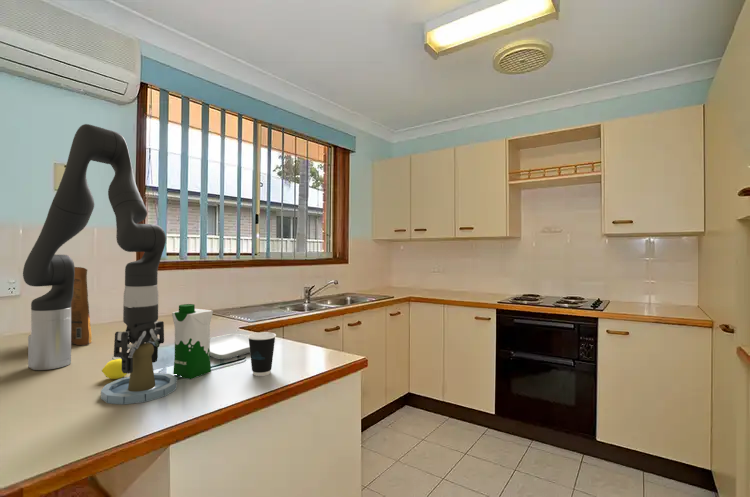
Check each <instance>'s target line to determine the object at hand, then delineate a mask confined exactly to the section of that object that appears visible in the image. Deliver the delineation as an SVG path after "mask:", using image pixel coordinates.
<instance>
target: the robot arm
mask: <svg viewBox="0 0 750 497" xmlns="http://www.w3.org/2000/svg"><path fill="white" fill-rule="evenodd" d="M70 146H71V147H70V150H69V154H68V158H67V162H66V165H65V169H64V172H63V175H62V178H61V181H60V182H59V186H58V188H57V190H56V192H55V194H54V197H53V199H52V201H51V204H50V207H49V210H48V213H47V215H46V217H45V218H46V219H45V221H44V223H43V226H42V228H41V230H40V233H39V235H38V237H37V240H36V241H35V243H34V245H33V247H32V248H31V250H30V252H29V254H28V256H27V259H26V261H25V262H24V266H23V269H22V270H23V271H22V277H23V281H24V283H25V284H26V285H28V286H30V287H47V286H48V287H50V286H51V288H50V290H49V291H48V292H46V293H45V294H43V295H40V296H39V297H37V298H33V300H32V301H31V303H30V309H31V310H30V318H31V319H30V320H31V321H30V323H31V325H30V330H31V331H30V334H28V337H27V346H28V347H27V349H28V350H27V355H28V356H27V360H28V361H27V368H29V369H31V370H34V371H47V370H53V369H59V368H63V367H66V366H68V365H70V364H71V363H72V343H71V302H72V299H73V291H74V276H75V267H76V266H75V263H74V261H73V259H72V257H71V256H69V255H67V254H56V253H57V251H58V250H59V249H60V248H61V247H63V245H65V244H66V243H67V242H69V241H70V240H72V239H73V238H74V237H75V236H77V235H78V234H79V233H81V232H82V231H83V230H84V229H85V227H87V225H88V223H89V221H90V218H91V216H92V214H93V211H94V208H95V199H94V196H93V193H92V191H91V188H90V186H89V184H88V178H87V171H88V166H89V164H90V162H91V161H92V162H97V163H101V164H107V165H110V166H111V167H112V169H113V171H114V176H113V178H112V181H111V182H110V184H109V185H108V191H107V196H108V200H109V203H110V206H111V208H112V211H113V213H114V215H115V222H116V242H117V245H118V246H119V248H121V249H122V250H123V251H125V252H128V253H138V252H139V253H143V254H142V257H141V258H140V259H138V260H133V261H130V262H128V263H127V264H126V265H125V269H124V289H123V290H124V291H123V302H122V303H123V306H122V307H123V310H122V314H123V316H122V318H123V319H122V322H123V324H126V329H125V331H115V333H114V340H113V341H114V344H113V345H114V346H113V357H114V358H119V359H122V372H123V373H128V374H127V375H130V373H132V372H133V358H132V356H133V354H134V352H135V350H136V349H138V347H139V345H141V344H143V343H150V344H152V345H153V347H154V352H153V354H152V356H151V357H152V364H154V363H156V362H157V361H158V355H159V347H160V345H161V344H164V342H165V323H164V321H161V320H159V289H158V275H159V274H158V272H159V271H158V269H159V265H160V262H161V259H162V255H163V252H164V250H165V246H166V241H167V237H166V233H165V230H164V229H163V227H161V226H160V225H157V224H153V223H152V224H150V223H142V222H143V221H144V220H145V219H146V218H147V216H148V211H147V207H146V205H145V202H144V201H143V198H142V196H141V193H140V192H139V188H138V186H137V184H136V178H135V174H134V169H133V164H132V160H131V156H130V151H129V147H128V144H127V141H126V139H125V137H124V136H123V135H122V134H120V133H119V132H116V131H113V130H109V129H107V128H104V127H101V126H96V125H93V124H88V123H84V124H82V125H80V126H79V127H78V128H77V130H76V132H75V134H74V137H73V139H72V143H71V145H70ZM158 337H159V338H158ZM120 350H121V351H120Z"/></svg>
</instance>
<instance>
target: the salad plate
mask: <svg viewBox="0 0 750 497" xmlns="http://www.w3.org/2000/svg"><path fill="white" fill-rule="evenodd" d="M247 354H250V346H249V338H248V335H246V334H242V333H241V334H240V333H228V334H223V335H218V336H213V337H210V356H211V357H210V358H214V357H215V358H214V359H217V358H218V360H228V359H227V358H229V359H232V358H231V357H233V358H235V357H234V356H236V357H238V356H237V355H240V356H243V355H247Z"/></svg>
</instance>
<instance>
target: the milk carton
mask: <svg viewBox="0 0 750 497" xmlns="http://www.w3.org/2000/svg"><path fill="white" fill-rule="evenodd" d="M195 306H196V305H195V304H193V303H184V304H180V305H178V310H177V311H172V312H171V316H172V320H173V325H174V359H173V360H174V362H173V373H172V375H173V374H177V375H181V376H182V377H183V378H182V377H181V378H182V379H186V380H187V379H188V380H193V379H195V378H199V377H201V376H204V375H207V374H209V373H212V367H211V357H210V338H211V322H212V318H213V313H214V310H210V309H209V310H208V309H204V308H203V309H202V308H196V307H195Z"/></svg>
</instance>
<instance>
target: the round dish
mask: <svg viewBox="0 0 750 497" xmlns="http://www.w3.org/2000/svg"><path fill="white" fill-rule="evenodd" d="M154 378H155V385H156V386H155V387H153V388H151V389H149V390H145V391H137V392H133V391H129V390H128V385H129V379H130V375H129V376H124V377H122V378H120V379H115V380H114V381H111V382H109V383H106V384H105V385H104V386H103V387H102V389H101V390H100V400H102V401H103V402H105V403H106V404H112V405H133V404H139V403H146V402H150V401H152V400H153V401H154V400H157V399H160V398H164V397H166V396H168V395H169V394H171V393H172V392H174V391H176V389H177V388H178V387H177V386H178V376H173V374H171V373H164V372H163V373H162V372H154Z"/></svg>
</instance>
